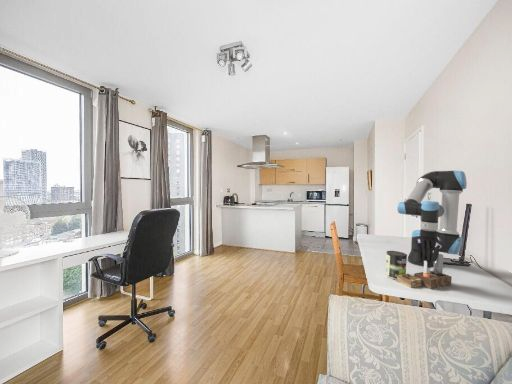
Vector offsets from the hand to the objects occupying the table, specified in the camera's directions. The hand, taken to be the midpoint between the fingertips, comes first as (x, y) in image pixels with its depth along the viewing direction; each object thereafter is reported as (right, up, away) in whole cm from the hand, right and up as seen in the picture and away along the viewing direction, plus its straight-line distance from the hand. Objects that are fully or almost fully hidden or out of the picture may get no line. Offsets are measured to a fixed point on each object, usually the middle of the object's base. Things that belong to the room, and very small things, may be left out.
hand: (426, 272), depth 123 cm
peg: (+8, -7, +3) cm, 11 cm away
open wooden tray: (-9, -7, +1) cm, 11 cm away
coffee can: (-10, -6, +11) cm, 16 cm away
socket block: (+5, -7, +2) cm, 8 cm away
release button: (0, -5, 0) cm, 5 cm away
